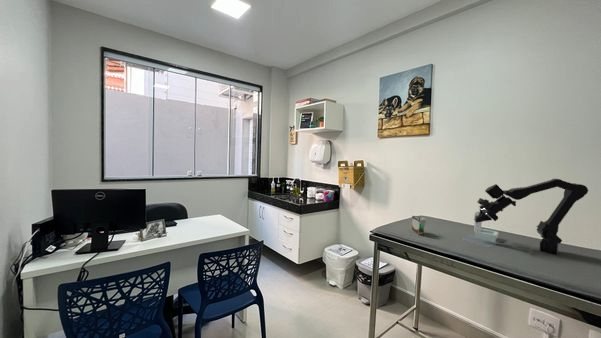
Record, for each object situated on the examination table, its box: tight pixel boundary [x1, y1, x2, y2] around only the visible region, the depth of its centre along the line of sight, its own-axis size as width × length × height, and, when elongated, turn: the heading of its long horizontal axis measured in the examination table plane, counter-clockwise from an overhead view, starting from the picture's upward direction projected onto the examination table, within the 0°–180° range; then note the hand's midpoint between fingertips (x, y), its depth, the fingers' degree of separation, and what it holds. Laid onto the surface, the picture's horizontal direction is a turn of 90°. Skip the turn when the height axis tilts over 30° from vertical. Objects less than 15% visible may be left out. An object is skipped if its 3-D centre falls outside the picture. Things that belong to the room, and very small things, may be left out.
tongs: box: [473, 211, 483, 233], centre depth 147 cm, size 3×4×12 cm
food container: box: [411, 215, 427, 236], centre depth 162 cm, size 12×6×10 cm, turn 179°
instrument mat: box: [457, 232, 506, 249], centre depth 151 cm, size 16×26×1 cm, turn 124°
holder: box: [474, 228, 499, 242], centre depth 153 cm, size 10×10×4 cm
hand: (475, 221), depth 148 cm, fingers closed on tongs, 4 cm apart
